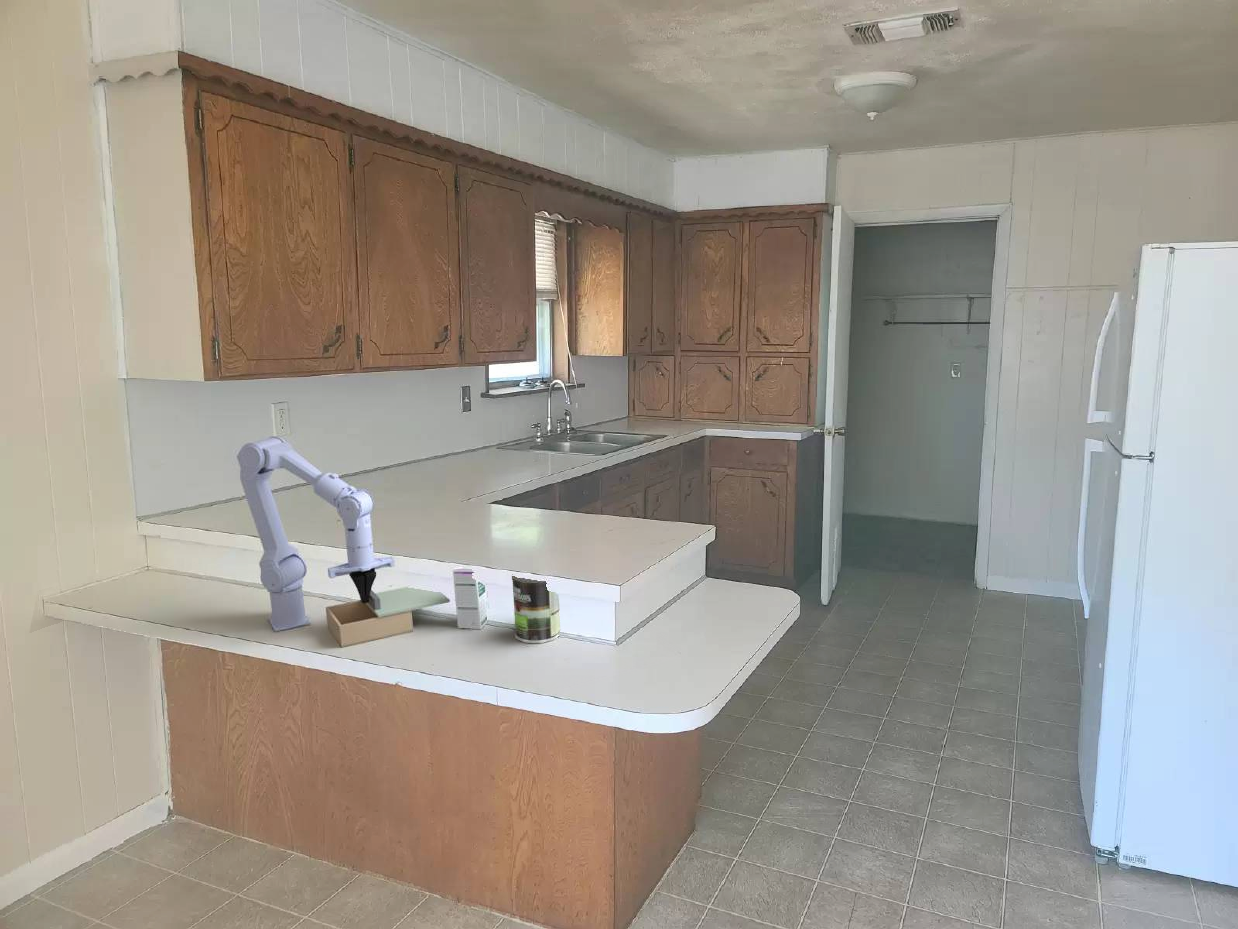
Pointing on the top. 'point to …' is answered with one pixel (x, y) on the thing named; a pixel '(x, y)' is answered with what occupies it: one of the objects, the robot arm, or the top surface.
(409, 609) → the lid
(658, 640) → the top surface
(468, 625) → the syrup box
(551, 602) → the coffee can
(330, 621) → the mailer box
